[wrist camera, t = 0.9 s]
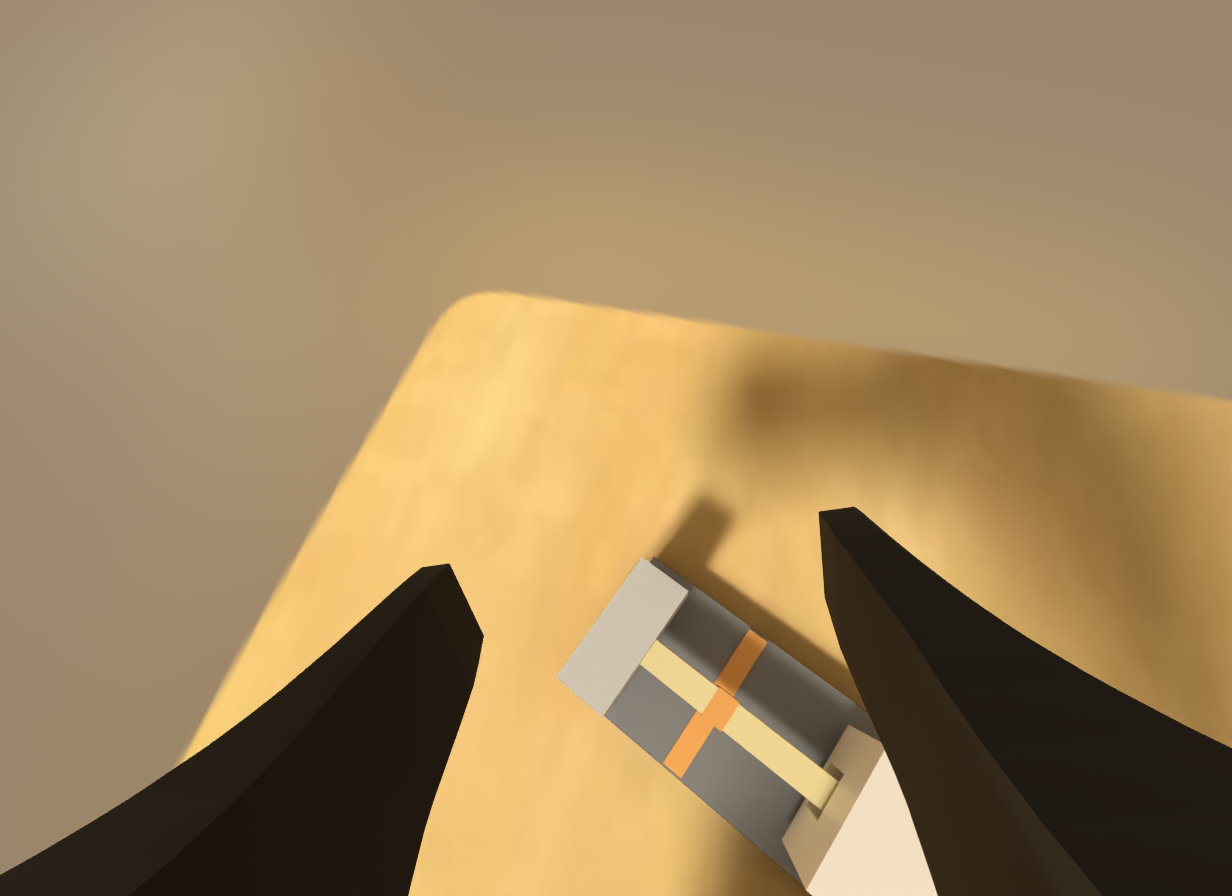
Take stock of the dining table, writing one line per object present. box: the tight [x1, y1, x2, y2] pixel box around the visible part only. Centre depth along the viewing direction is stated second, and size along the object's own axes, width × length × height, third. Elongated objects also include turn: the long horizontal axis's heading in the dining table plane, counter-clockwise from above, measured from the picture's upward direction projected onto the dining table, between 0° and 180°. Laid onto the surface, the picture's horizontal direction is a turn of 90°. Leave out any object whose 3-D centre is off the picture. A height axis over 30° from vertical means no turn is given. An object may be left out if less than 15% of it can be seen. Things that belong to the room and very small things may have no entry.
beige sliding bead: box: [782, 725, 938, 896], centre depth 16 cm, size 4×4×4 cm
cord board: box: [556, 557, 881, 888], centre depth 18 cm, size 22×6×4 cm, turn 53°
